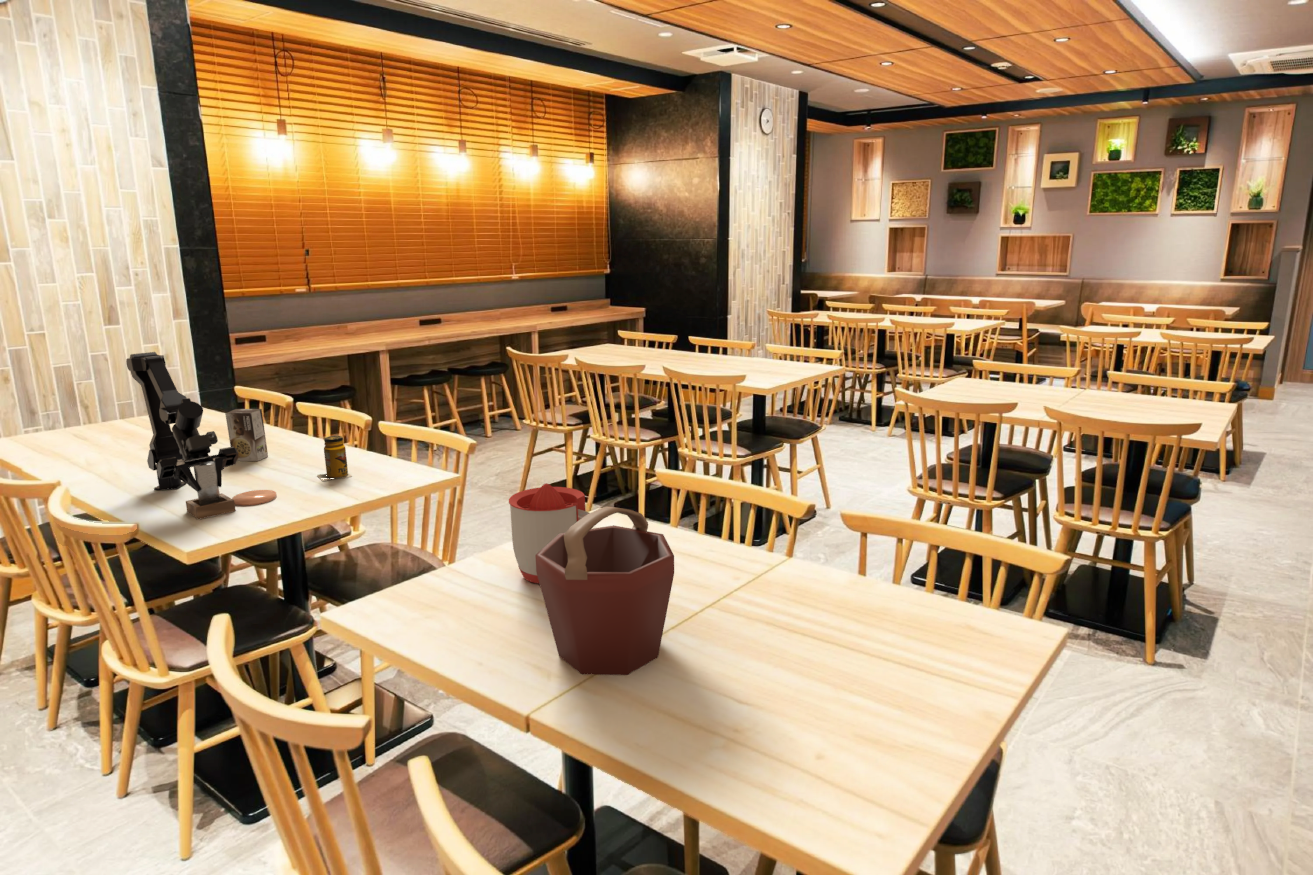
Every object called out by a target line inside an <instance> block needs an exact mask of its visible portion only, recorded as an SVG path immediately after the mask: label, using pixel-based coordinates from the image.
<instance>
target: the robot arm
mask: <svg viewBox="0 0 1313 875" xmlns="http://www.w3.org/2000/svg"><path fill="white" fill-rule="evenodd" d="M126 367H127V370H128V371H129V372H130V374H131V377H132V378H133V379H134V380H135V381H136V383H138V384H139V385H140V386H141V387H140V388H141V390H142V395H143V399H144V403H145V407H146V410H147V415H148V418H149V423H150V427H151V431H152V437H151V440H150V442H149V451H148V455H147V460H146V462H147V465H148V469H150V470H152V471H156V476H157V483H158V485H157V486H155V487H154V488H153V490H154V491H161V490H162V491H163V490H178V489H180V488H181V487H183V486H185V485H186V484H187V485H188V486H189V487H190V488H191V489H193V490H194V491H195V492H196V493H198V492H199V487H198V484H197V482H196V479H195V475H194V474H193V472H192V471H191V468H194V466H193V465H194V464H196V463H200V462H207V461H212V462H215V466H216V472H217V479H218V486H219V488H222V486H223V485H222V477H223V476H222V472H223V471H224V470H225V468H227V467H232V466H234V465H236V464H237V462H238V461H237V458H238V454H239V453H238V451H237V449H236V448H235V447H231V446H229V447H223V448H219V449H218V454H212V455H209V454H210V453H211V448H210V447H212V445H215V444H217V443H218V442H219V439H218V436H217V434H216V431H215V430H212V431H207V432H206V433H205V434H200V432H199V430H198V428H200V426H201V422H202V417H203V415H204V414H203V413H204V408H203V406H202V405H201V404H199V403H198V402H195V401H191V398H189V397H187V396H186V395H185V394H182V393H180V392H179V391H178V390H177V387H176V385H175V383H174V380H173V379H172V377H171V375H170V372H169V370H168V368H167V366H166V361H165V356H164V354H162V355H161V354H160V355H159V354H157V352H156V351H152V352H151V351H149V352H139V353H131V354H129V357H128V358H126ZM171 425H172V427H171Z"/></svg>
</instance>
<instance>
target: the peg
mask: <svg viewBox="0 0 1313 875" xmlns="http://www.w3.org/2000/svg"><path fill="white" fill-rule="evenodd" d="M193 466H194V467H193V472H194V478H195V480H196V482H197V484H198V487H199V492H197V498H198V499H199V505H200V506H204V505H208V504H213V503H218V502H221V500H220V494H221V493H220V487H219V486H218V479H217V472H216V466H215V462H212V461H207V462H200V463H196V464H194V465H193Z"/></svg>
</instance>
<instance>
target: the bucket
mask: <svg viewBox="0 0 1313 875" xmlns="http://www.w3.org/2000/svg"><path fill="white" fill-rule="evenodd" d="M617 513H619V514H622V515H626V516H627V517H628V519H630V521H631V522H632V524H633V525H632V527H625V526H618V525H608V526H602V527H596V525H597V524H599V523H600V522H601V521H603V520H604V519H605V518H608V517H609V516H612V515H615V514H617ZM594 527H595V528H594ZM648 529H649V522H648V520H647V519H646V517H645V516H644V515H643V514H642V513H641V512H638V511H634V510H633V509H629V508H620V507H614V506H607V505H606V506H604V507H601V508H599V509H596V510H594V511H592V512H589V514H587V515H586V516H585V517H583V518H582V519H580V520H579V521H577V522H576V523H575V524H574V525H572V526H571V527H570V528H569V529H568V531H567V532H566V533H561V534H558V535H557V536H556V537H555V538H554V539H553V540H552V541H551V542H549V543H548V544H547V545H546V546H545V547H544V548H543V549H541V550H540V551H539V552H538V553H537V554H536V555H535V556H536V572H537V576H538V580H539V583H538V584H539V587H540V590H541V595H542V598H543V601H544V602H543V603H544V605H545V610H546V613H547V616H548V619H549V624H550V628H551V631H552V632H551V633H552V635H553V639H554V643H555V646H556V650H557V654H558V656H559V658H561V659H562V660H563V661H564V662H565V663H567V664H568V665H569V666H570V667H572V668H573V669H574V670H575V671H577V673H579V674H580V675H598V676H599V675H600V676H601V675H605V676H607V675H608V676H612V675H613V676H628V675H630V674H632V673H633V672H635V671H637V670H638V669H640V668H642V667H644V666H646V665H647V664H649V663H650V662H652V661H654V660H656V659H658V658H659V653H660V648H661V644H662V638H663V632H664V629H665V623H666V617H667V612H668V607H669V602H670V599H671V598H670V596H671V591H672V588H673V587H672V586H673V581H674V577H675V554H674V553H673V551H672V549H671V546H670V545H669V543H668V541H667V539H666V537H665V535H664V534H663V533H658V532H653V531H648Z"/></svg>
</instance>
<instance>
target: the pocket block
mask: <svg viewBox="0 0 1313 875" xmlns="http://www.w3.org/2000/svg"><path fill="white" fill-rule="evenodd" d="M220 500H221V502H218V503H213V504H208V505H204V506H200V505H199V499H198V497H197V498H194V499H190V500H189V499H188V500H185V507H186V512H187V513H188V514H189V515H191V516H192V517H194V518H195V519H197V520H202V519H207V518H211V517H216V516H219V515H224V514H229V513H234V512H236V511H237V510H236V505H235V503H234V500H233V499H232V497H229V496H227V495H225V494H224V493H220Z"/></svg>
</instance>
